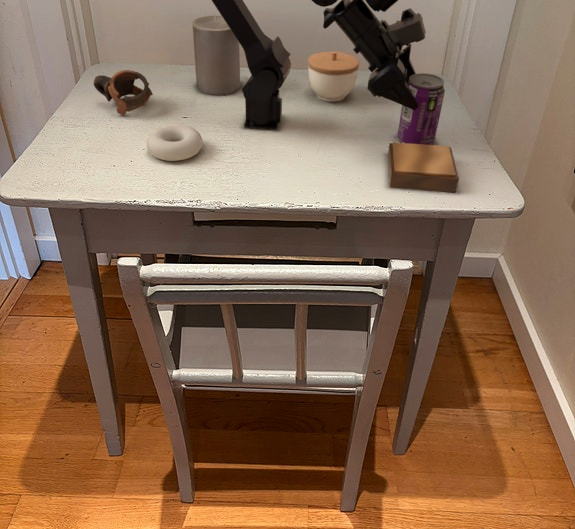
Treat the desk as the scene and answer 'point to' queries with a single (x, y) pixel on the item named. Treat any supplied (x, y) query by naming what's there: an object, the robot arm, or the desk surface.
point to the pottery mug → (124, 90)
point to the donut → (174, 142)
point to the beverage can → (422, 110)
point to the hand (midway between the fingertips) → (418, 98)
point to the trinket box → (332, 74)
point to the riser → (422, 167)
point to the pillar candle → (216, 56)
